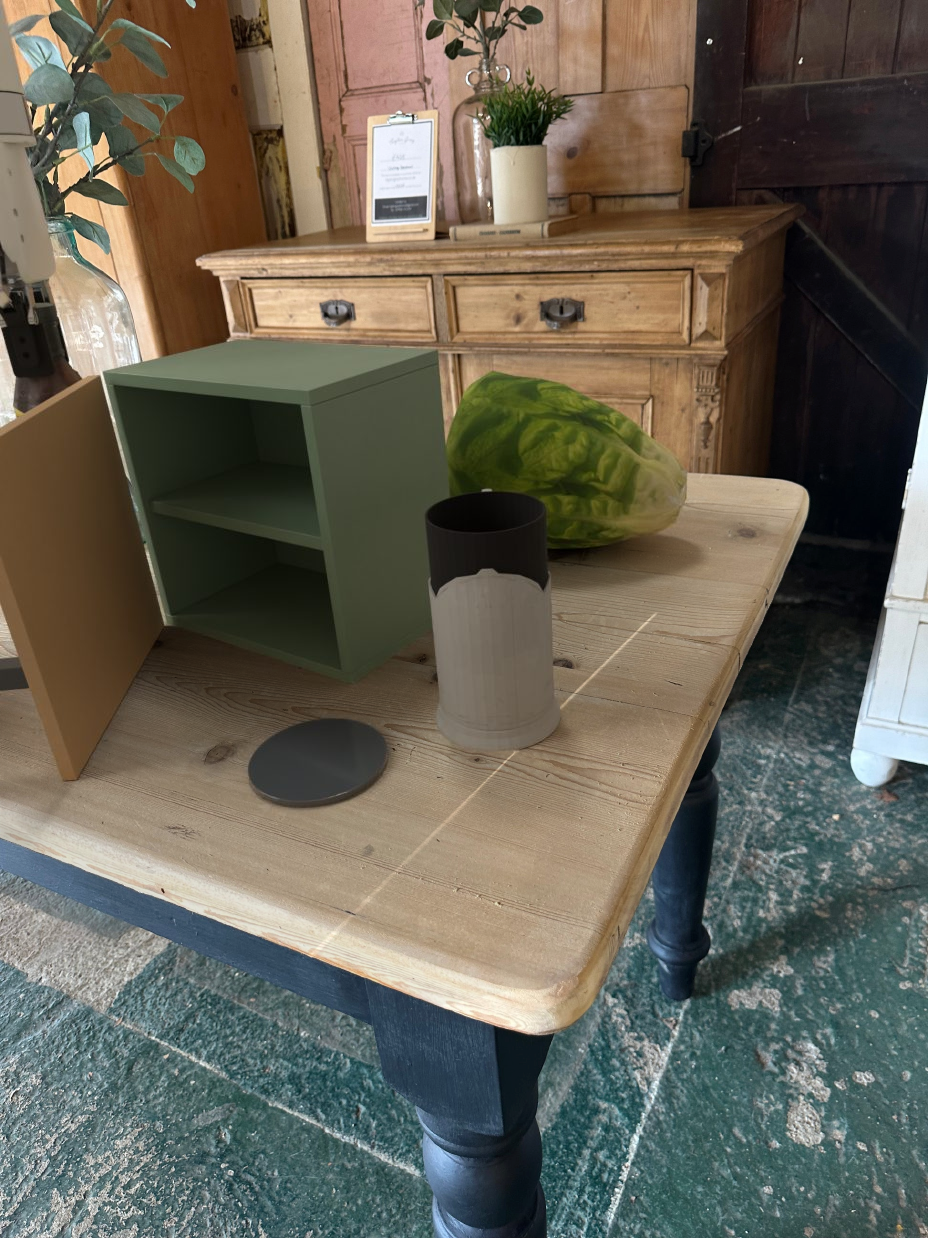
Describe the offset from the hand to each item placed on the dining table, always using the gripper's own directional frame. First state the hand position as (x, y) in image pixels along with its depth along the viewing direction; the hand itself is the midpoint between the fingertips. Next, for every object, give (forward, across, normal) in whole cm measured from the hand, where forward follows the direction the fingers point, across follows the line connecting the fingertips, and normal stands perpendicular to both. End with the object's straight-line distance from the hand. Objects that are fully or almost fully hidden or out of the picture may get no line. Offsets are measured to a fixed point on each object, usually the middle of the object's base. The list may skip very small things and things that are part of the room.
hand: (42, 368), depth 74 cm
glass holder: (+21, +28, +33) cm, 48 cm away
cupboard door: (+21, +20, +2) cm, 29 cm away
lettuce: (+21, +3, +45) cm, 50 cm away
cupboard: (+21, +11, +20) cm, 31 cm away
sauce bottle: (+15, 0, 0) cm, 15 cm away
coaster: (+21, +33, +20) cm, 44 cm away
